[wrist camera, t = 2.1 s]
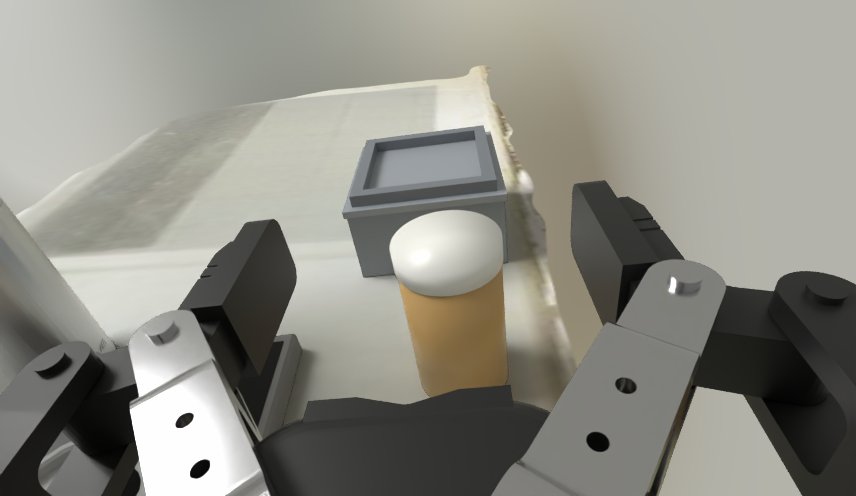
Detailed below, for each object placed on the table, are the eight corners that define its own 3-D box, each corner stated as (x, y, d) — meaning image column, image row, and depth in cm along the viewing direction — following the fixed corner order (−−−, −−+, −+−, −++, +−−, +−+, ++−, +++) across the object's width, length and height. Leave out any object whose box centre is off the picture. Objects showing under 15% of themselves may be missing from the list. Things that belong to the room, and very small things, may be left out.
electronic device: (104, 352, 35) (295, 329, 34) (120, 373, 36) (304, 351, 36) (3, 491, 26) (255, 464, 26) (30, 511, 28) (270, 487, 27)
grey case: (361, 278, 41) (339, 202, 37) (376, 204, 52) (361, 138, 48) (510, 263, 40) (506, 182, 35) (493, 191, 51) (489, 122, 46)
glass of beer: (417, 413, 29) (384, 281, 23) (419, 341, 34) (393, 216, 28) (515, 406, 28) (509, 268, 22) (503, 333, 34) (495, 204, 27)
